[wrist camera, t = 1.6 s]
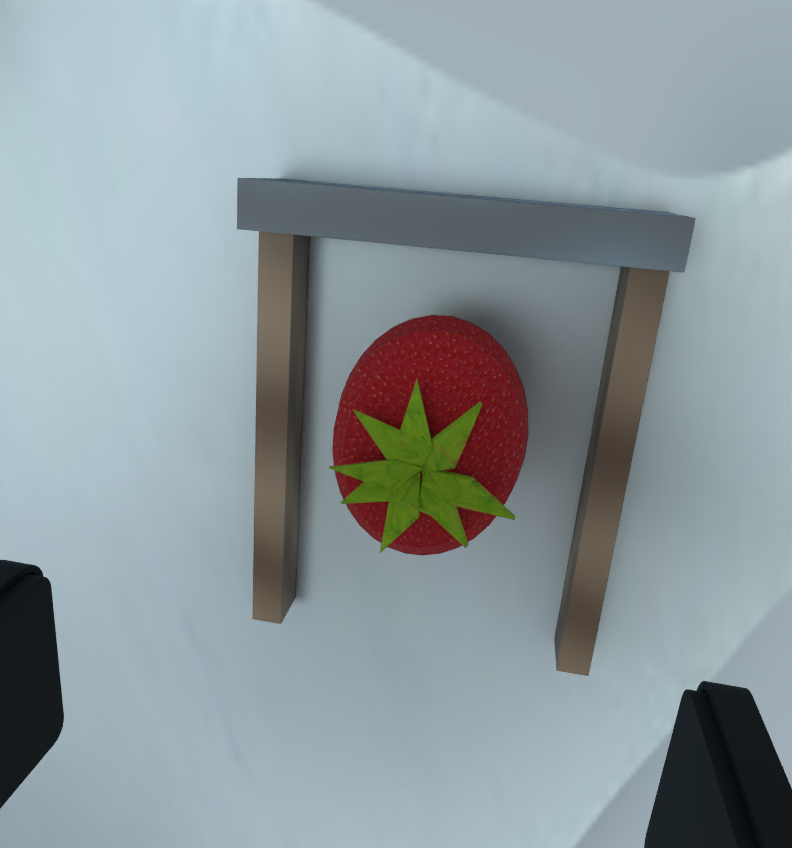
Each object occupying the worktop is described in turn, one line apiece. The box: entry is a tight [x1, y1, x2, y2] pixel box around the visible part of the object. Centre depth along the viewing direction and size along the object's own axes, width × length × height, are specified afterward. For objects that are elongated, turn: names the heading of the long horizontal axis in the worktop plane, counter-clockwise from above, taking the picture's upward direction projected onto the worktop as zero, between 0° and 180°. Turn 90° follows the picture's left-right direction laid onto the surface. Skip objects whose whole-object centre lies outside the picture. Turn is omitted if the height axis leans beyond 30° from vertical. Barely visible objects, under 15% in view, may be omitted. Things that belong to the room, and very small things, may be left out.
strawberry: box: [329, 315, 528, 555], centre depth 23 cm, size 6×8×10 cm
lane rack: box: [237, 178, 695, 676], centre depth 26 cm, size 17×13×4 cm
